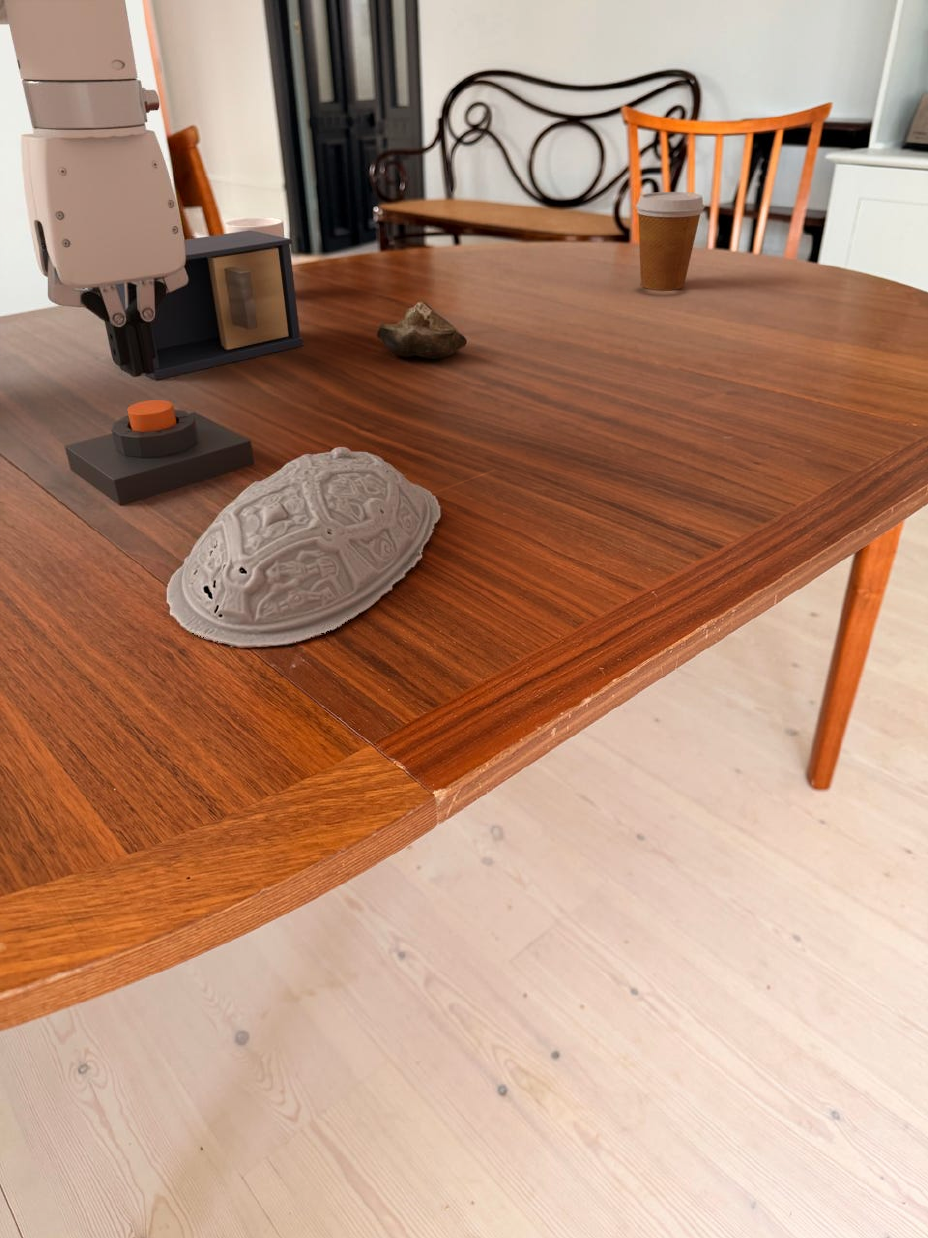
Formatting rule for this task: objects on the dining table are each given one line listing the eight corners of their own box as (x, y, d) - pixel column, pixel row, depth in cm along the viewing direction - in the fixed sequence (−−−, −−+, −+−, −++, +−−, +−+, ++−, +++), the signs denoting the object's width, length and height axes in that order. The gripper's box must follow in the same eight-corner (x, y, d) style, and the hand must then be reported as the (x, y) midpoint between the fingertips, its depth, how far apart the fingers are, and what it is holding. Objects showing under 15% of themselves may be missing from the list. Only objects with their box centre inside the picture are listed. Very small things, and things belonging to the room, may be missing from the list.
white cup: (250, 305, 126) (240, 228, 121) (227, 295, 132) (216, 221, 126) (301, 296, 130) (292, 222, 125) (276, 287, 136) (267, 215, 130)
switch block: (120, 506, 70) (108, 458, 68) (70, 470, 77) (58, 425, 75) (254, 464, 77) (248, 419, 75) (198, 434, 83) (191, 392, 81)
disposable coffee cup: (626, 278, 137) (632, 191, 130) (689, 278, 136) (699, 190, 130) (633, 293, 129) (640, 201, 122) (700, 292, 128) (711, 200, 122)
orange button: (143, 438, 73) (138, 417, 72) (124, 427, 75) (120, 406, 74) (184, 427, 75) (180, 406, 74) (164, 416, 77) (160, 396, 76)
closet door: (243, 356, 100) (229, 262, 95) (223, 348, 103) (209, 256, 98) (305, 342, 105) (295, 251, 100) (285, 335, 108) (274, 246, 102)
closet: (155, 380, 98) (131, 263, 91) (120, 363, 103) (95, 252, 97) (303, 345, 108) (291, 238, 102) (264, 332, 114) (250, 229, 108)
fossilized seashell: (360, 338, 101) (436, 365, 98) (381, 281, 100) (459, 306, 97) (389, 357, 108) (461, 382, 105) (409, 304, 107) (482, 328, 104)
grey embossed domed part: (106, 611, 55) (94, 512, 52) (306, 477, 76) (307, 399, 72) (331, 682, 52) (334, 580, 48) (478, 521, 72) (488, 441, 69)
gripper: (162, 104, 69) (199, 344, 79) (-45, 111, 61) (25, 379, 71) (210, 109, 65) (242, 363, 75) (-7, 118, 56) (62, 403, 66)
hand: (137, 370), depth 73 cm, fingers closed
